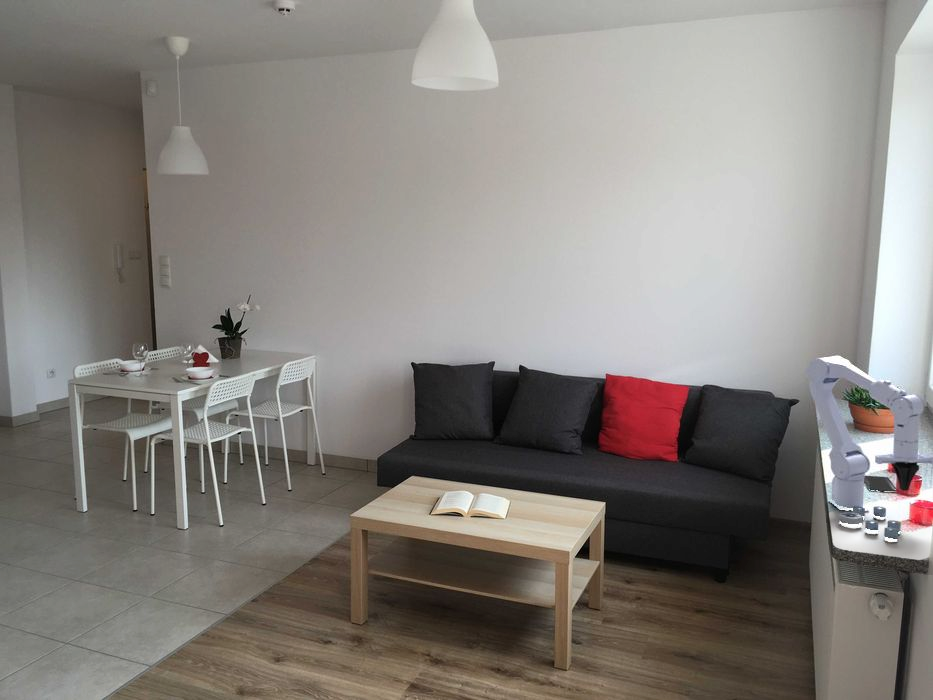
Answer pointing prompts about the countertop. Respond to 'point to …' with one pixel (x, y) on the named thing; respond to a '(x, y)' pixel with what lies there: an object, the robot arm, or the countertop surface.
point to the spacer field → (891, 528)
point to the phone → (879, 483)
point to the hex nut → (850, 518)
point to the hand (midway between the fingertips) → (904, 489)
